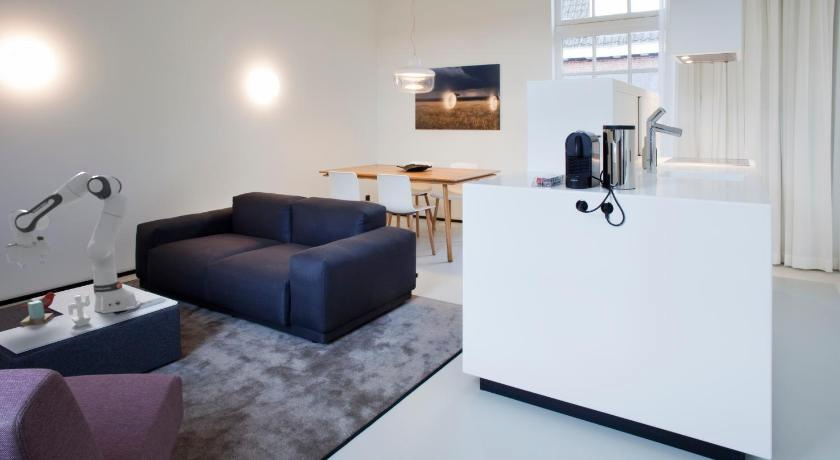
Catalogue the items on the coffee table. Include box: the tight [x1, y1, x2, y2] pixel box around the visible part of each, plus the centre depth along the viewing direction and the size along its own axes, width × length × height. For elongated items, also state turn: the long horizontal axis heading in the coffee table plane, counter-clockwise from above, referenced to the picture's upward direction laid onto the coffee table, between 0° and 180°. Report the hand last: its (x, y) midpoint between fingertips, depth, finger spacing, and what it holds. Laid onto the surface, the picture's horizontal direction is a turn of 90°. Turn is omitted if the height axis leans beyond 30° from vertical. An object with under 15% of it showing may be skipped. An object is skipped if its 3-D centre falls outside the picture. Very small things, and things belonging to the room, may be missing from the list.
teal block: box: [26, 299, 46, 319], centre depth 287 cm, size 5×5×8 cm
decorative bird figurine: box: [18, 291, 56, 313], centre depth 300 cm, size 3×18×10 cm, turn 135°
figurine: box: [67, 294, 92, 328], centre depth 279 cm, size 7×9×15 cm
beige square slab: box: [20, 312, 55, 327], centre depth 287 cm, size 11×11×2 cm
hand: (33, 266), depth 297 cm, fingers open, 8 cm apart
